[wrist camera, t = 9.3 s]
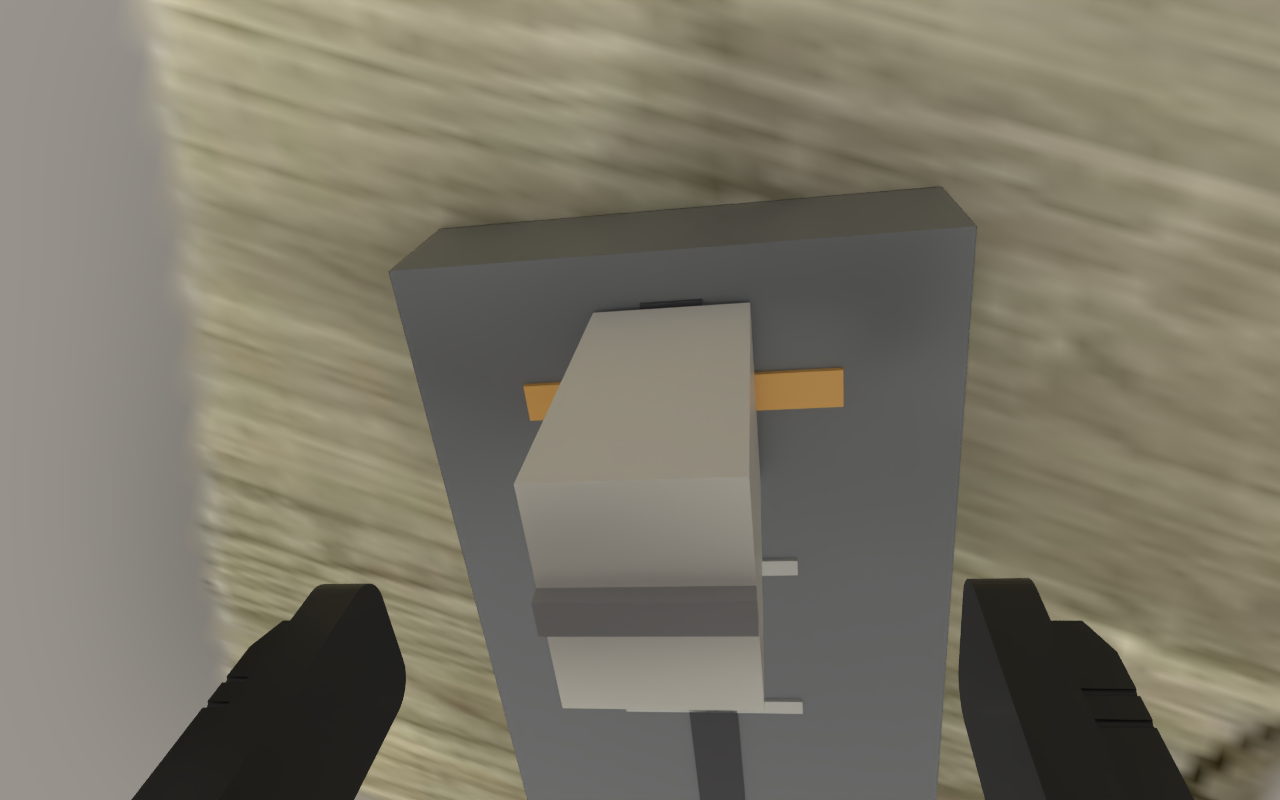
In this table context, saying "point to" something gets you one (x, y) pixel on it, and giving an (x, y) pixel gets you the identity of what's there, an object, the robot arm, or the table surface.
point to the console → (789, 473)
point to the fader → (651, 514)
